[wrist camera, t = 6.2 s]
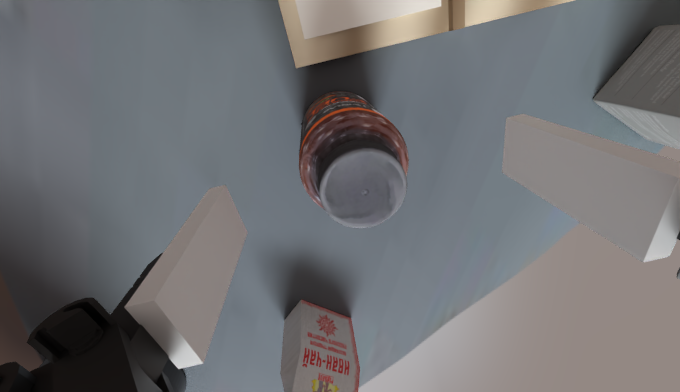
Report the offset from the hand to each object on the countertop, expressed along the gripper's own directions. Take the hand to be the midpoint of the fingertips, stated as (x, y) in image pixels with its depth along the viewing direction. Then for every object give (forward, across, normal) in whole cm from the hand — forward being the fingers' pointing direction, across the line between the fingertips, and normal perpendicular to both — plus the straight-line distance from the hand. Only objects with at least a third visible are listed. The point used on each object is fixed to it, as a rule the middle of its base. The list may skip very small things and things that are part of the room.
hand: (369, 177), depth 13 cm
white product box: (+10, -8, -21) cm, 25 cm away
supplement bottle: (+10, 0, 0) cm, 10 cm away
